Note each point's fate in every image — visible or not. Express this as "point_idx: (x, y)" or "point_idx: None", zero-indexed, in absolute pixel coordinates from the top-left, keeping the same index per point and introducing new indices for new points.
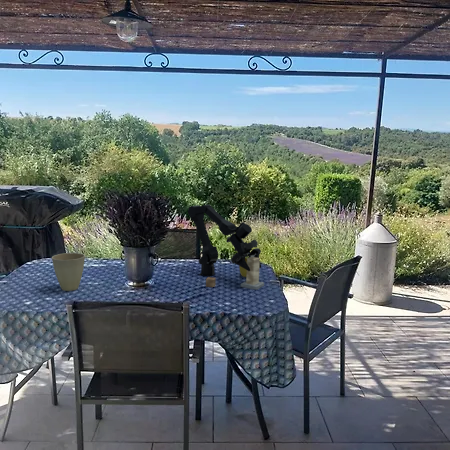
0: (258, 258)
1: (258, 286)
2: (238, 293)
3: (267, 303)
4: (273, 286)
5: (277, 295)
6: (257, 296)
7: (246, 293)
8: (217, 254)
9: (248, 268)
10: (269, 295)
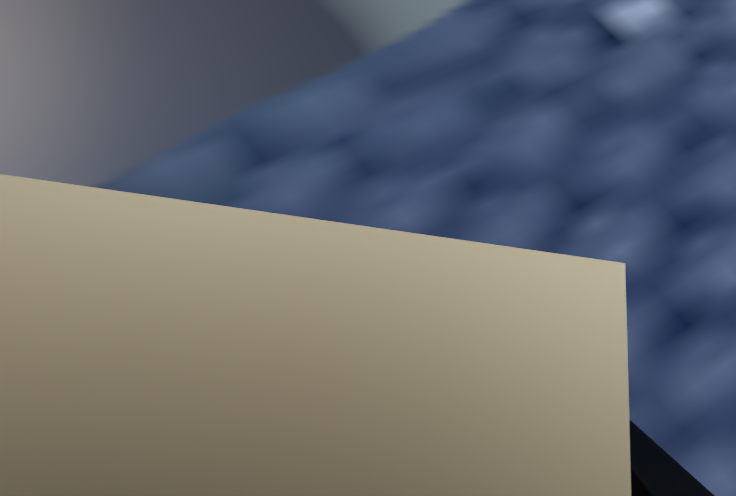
0: (57, 187)
1: None
2: (708, 393)
3: (726, 13)
4: (182, 181)
5: (463, 29)
6: (632, 165)
7: (636, 312)
8: None
9: (647, 444)
10: (517, 86)
